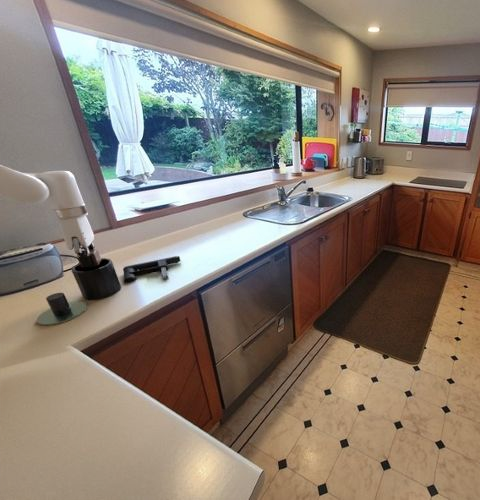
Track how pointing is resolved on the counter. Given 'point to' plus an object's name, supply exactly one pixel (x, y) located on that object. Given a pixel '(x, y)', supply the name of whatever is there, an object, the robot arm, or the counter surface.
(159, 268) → the door handle
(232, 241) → the counter surface
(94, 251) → the block
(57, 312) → the lid
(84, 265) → the robot arm
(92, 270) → the canister
